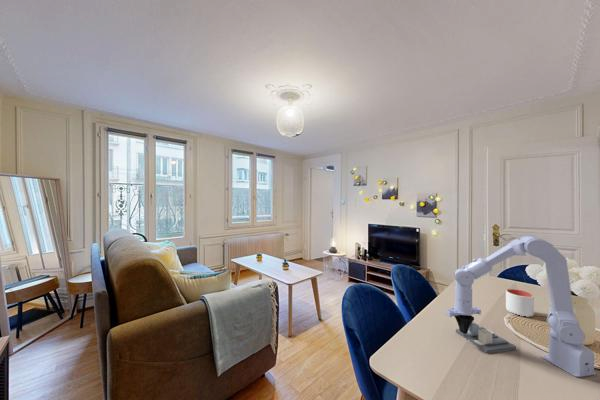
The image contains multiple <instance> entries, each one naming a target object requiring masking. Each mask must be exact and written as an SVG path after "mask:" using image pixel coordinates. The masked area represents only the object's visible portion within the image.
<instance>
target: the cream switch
mask: <svg viewBox="0 0 600 400" xmlns="http://www.w3.org/2000/svg"><path fill="white" fill-rule="evenodd" d="M486 329H487V328H485V329H479V330H478V340H479V341H481V342H482V343H484V344H492V333H491V332H490V331H491V330H490V331H488V330H489V329H487V330H486Z"/></svg>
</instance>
